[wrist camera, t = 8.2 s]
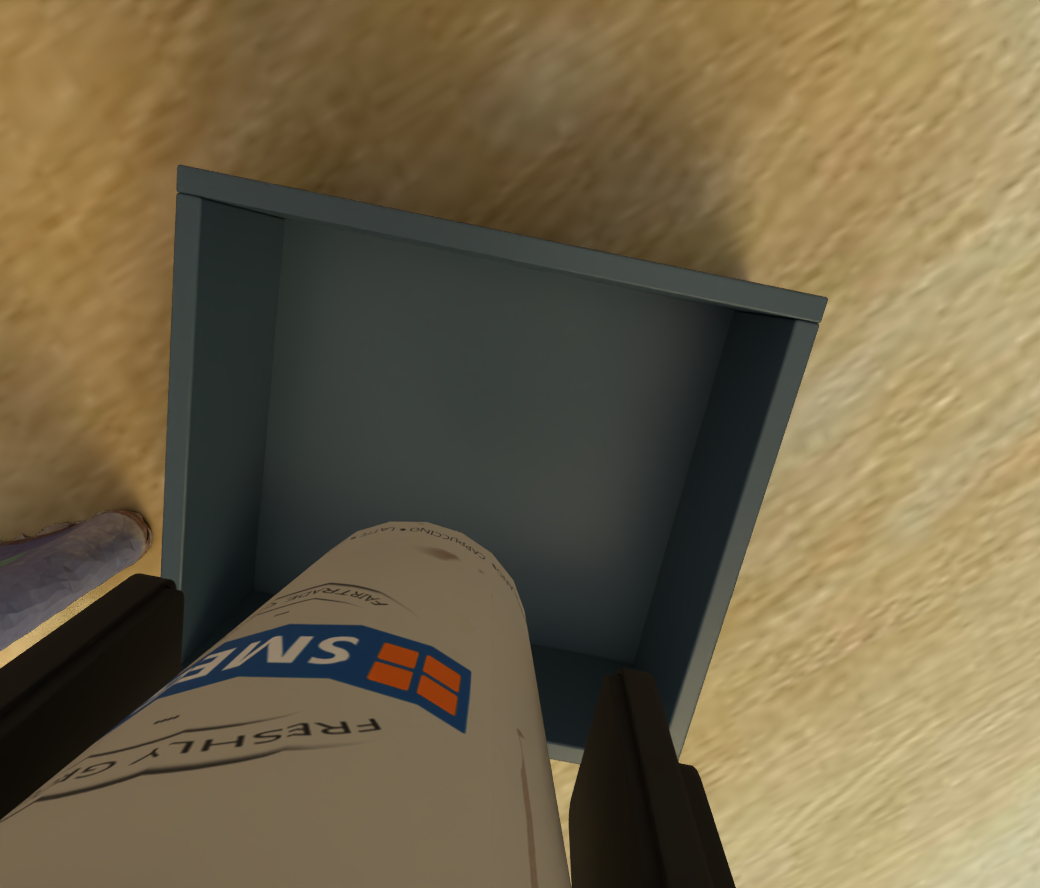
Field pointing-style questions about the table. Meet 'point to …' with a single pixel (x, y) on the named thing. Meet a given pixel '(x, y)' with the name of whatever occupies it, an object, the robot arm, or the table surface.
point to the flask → (64, 567)
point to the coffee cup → (324, 744)
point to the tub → (472, 423)
